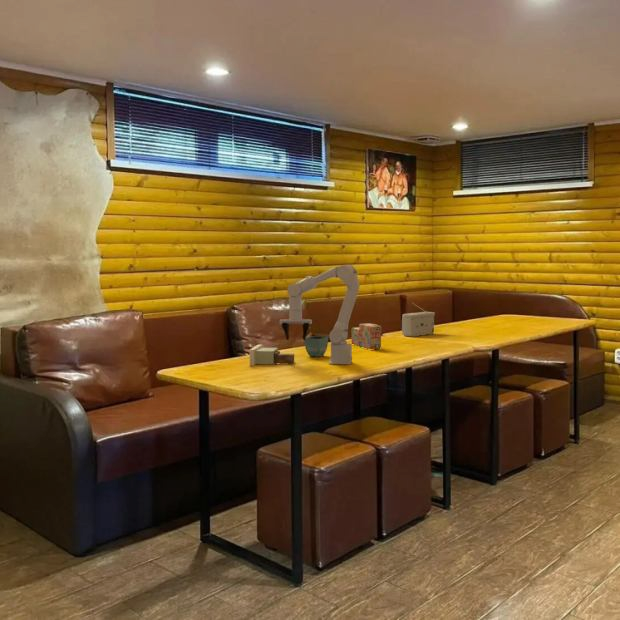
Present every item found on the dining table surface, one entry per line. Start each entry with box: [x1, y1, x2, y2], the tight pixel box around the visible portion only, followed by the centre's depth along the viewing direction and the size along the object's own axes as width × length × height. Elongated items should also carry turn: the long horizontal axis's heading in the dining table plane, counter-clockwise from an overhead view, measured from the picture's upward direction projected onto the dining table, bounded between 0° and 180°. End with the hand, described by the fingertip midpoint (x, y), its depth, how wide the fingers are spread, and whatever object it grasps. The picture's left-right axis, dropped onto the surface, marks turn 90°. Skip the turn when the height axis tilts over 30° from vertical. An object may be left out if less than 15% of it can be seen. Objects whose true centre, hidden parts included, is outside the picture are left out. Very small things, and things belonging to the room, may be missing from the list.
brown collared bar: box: [273, 350, 295, 365], centre depth 301 cm, size 13×7×5 cm, turn 81°
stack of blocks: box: [350, 323, 382, 350], centre depth 346 cm, size 21×6×12 cm, turn 23°
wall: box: [249, 344, 263, 366], centre depth 303 cm, size 2×16×7 cm, turn 170°
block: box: [256, 347, 279, 365], centre depth 302 cm, size 8×10×6 cm
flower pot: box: [303, 335, 329, 358], centre depth 318 cm, size 9×9×9 cm
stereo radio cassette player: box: [401, 302, 436, 338], centre depth 390 cm, size 21×8×20 cm, turn 129°
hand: (295, 339), depth 304 cm, fingers open, 7 cm apart
